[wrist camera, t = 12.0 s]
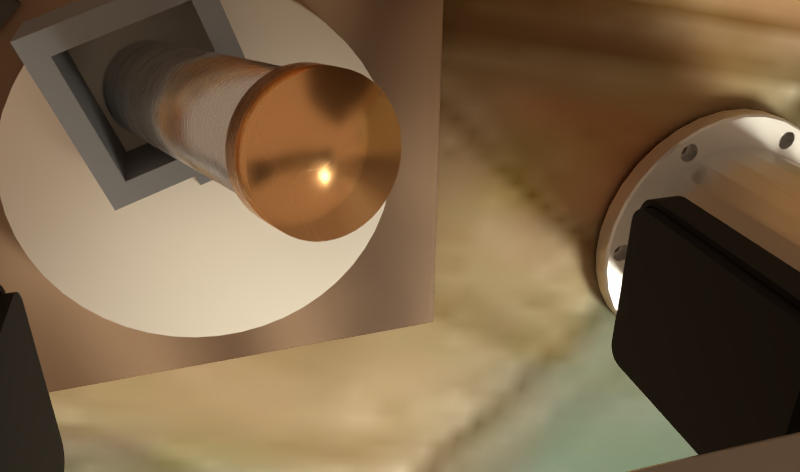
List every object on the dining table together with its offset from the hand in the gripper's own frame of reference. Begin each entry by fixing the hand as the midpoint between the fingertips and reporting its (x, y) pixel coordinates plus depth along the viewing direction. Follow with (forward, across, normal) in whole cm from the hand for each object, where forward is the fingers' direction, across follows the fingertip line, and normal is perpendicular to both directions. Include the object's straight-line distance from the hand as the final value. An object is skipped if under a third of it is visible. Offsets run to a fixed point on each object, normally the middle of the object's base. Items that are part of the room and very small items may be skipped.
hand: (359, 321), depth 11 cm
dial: (+16, +2, +3) cm, 17 cm away
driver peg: (+14, +3, 0) cm, 15 cm away
